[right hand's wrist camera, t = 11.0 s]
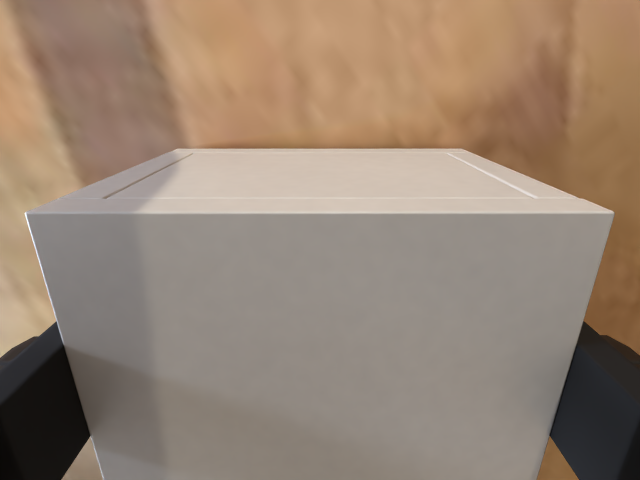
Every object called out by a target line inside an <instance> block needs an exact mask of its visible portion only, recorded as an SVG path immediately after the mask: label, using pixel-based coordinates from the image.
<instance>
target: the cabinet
mask: <svg viewBox="0 0 640 480" xmlns="http://www.w3.org/2000/svg"><path fill="white" fill-rule="evenodd" d="M25 215H26V219H27V222H28V226H29V229H30V232H31V236H32V239H33V243H34V246H35V249H36V253H37V256H38V260H39V263H40V266H41V270H42V273H43V277H44V280H45V283H46V287H47V290H48V293H49V297H50V300H51V304H52V307H53V310H54V314H55V317H56V321H57V324H58V327H59V331H60V334H61V338H62V341H63V344H64V348H65V351H66V355H67V358H68V361H69V365H70V368H71V371H72V375H73V378H74V382H75V385H76V388H77V392H78V395H79V399H80V402H81V405H82V409H83V412H84V416H85V419H86V422H87V426H88V429H89V433H90V436H91V439H92V443H93V446H94V450H95V453H96V456H97V460H98V463H99V466H100V470H101V473H102V477H103V480H537V477H538V473H539V470H540V467H541V463H542V460H543V456H544V453H545V450H546V446H547V443H548V439H549V436H550V433H551V429H552V426H553V422H554V419H555V415H556V412H557V409H558V405H559V402H560V398H561V395H562V392H563V388H564V385H565V381H566V378H567V375H568V371H569V368H570V364H571V361H572V358H573V354H574V351H575V347H576V344H577V341H578V337H579V334H580V330H581V327H582V324H583V320H584V317H585V313H586V310H587V307H588V303H589V300H590V296H591V293H592V290H593V286H594V283H595V279H596V276H597V273H598V269H599V266H600V262H601V259H602V256H603V252H604V249H605V245H606V242H607V239H608V235H609V232H610V228H611V225H612V222H613V218H614V215H615V213H614V212H613V211H611V210H609V209H606V208H604V207H601V206H599V205H597V204H594V203H592V202H589V201H587V200H585V199H579V198H578V197H575V196H573V195H571V194H568V193H566V192H564V191H561V190H559V189H556V188H554V187H552V186H549V185H547V184H545V183H542V182H540V181H537V180H535V179H533V178H530V177H528V176H525V175H523V174H521V173H518V172H516V171H514V170H511V169H509V168H506V167H504V166H502V165H499V164H497V163H495V162H492V161H490V160H487V159H485V158H483V157H480V156H478V155H476V154H473V153H471V152H468V151H466V150H464V149H176V150H174V151H172V152H169V153H166V154H163V155H161V156H158V157H156V158H154V159H151V160H149V161H146V162H144V163H142V164H139V165H137V166H135V167H132V168H130V169H127V170H125V171H123V172H120V173H118V174H115V175H113V176H111V177H108V178H106V179H103V180H101V181H99V182H96V183H94V184H91V185H89V186H87V187H84V188H82V189H79V190H77V191H75V192H72V193H70V194H68V195H65V196H63V197H60V198H59V199H56V200H53V201H51V202H49V203H46V204H44V205H41V206H39V207H37V208H34V209H32V210H29V211H27V212H26V213H25Z"/></svg>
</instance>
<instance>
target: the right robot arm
mask: <svg viewBox="0 0 640 480" xmlns="http://www.w3.org/2000/svg"><path fill="white" fill-rule="evenodd" d="M89 437H90V433H89V429H88V426H87V422H86V419H85V416H84V412H83V409H82V405H81V402H80V399H79V395H78V392H77V388H76V385H75V382H74V378H73V375H72V371H71V368H70V365H69V361H68V358H67V355H66V351H65V348H64V344H63V341H62V338H61V334H60V331H59V327H58V324H57V321H56V322H55V323H54V324H53V325H52V326H51V327H49V328H48V329H47V330H46V331H45V332H44V333H42V334H41V335H40V336H39V337H32V338H30V339H29V340H27V341H25V342H23V343H21V344H19V345H17V346H16V347H14V348H12V349H11V350H9V351H8V352H7V353H6V354H4V355H3V356H2V357H1V358H0V480H61V479H62V477H63V476H64V475H65V473H66V472H67V470H68V469H69V467H70V466H71V464H72V463H73V461H74V460H75V458H76V457H77V455H78V454H79V452H80V451H81V449H82V448H83V446H84V445H85V443H86V442H87V440H88V439H89ZM550 437H551V438H552V440H553V441H554V443H555V444H556V446H557V447H558V449H559V450H560V452H561V453H562V455H563V456H564V458H565V459H566V461H567V462H568V464H569V465H570V467H571V468H572V470H573V471H574V473H575V474H576V475H577V477H578V478H579V480H640V356H639V355H638V354H637V353H636V352H634V351H633V350H632V349H631V348H630V347H628V346H626V345H624V344H622V343H620V342H618V341H617V340H615V339H613V338H611V337H609V336H607V335H599V334H598V333H597V332H596V331H594V330H593V329H592V328H591V327H590V326H589V325H587V324H586V323H585V322H584V321H583V324H582V327H581V330H580V334H579V337H578V341H577V344H576V347H575V351H574V354H573V358H572V361H571V364H570V368H569V371H568V375H567V378H566V381H565V385H564V388H563V392H562V395H561V398H560V402H559V405H558V409H557V412H556V415H555V419H554V422H553V426H552V429H551V433H550Z"/></svg>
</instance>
